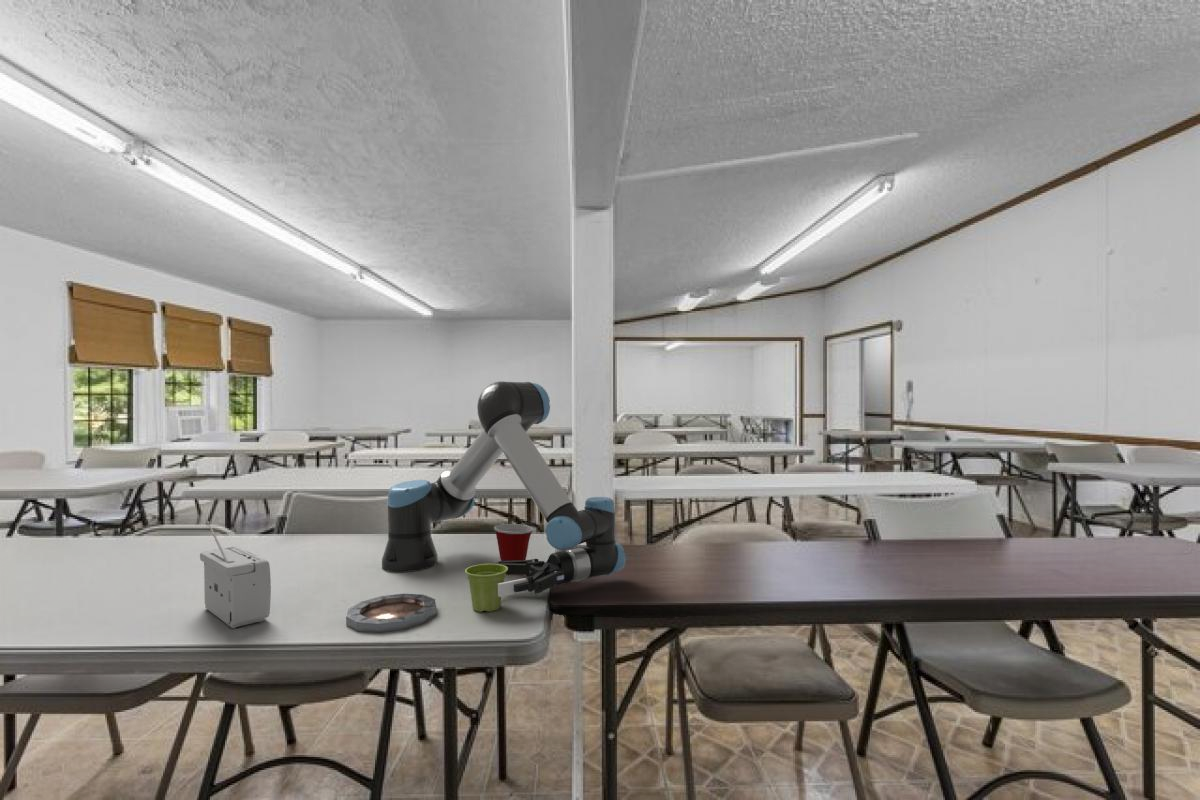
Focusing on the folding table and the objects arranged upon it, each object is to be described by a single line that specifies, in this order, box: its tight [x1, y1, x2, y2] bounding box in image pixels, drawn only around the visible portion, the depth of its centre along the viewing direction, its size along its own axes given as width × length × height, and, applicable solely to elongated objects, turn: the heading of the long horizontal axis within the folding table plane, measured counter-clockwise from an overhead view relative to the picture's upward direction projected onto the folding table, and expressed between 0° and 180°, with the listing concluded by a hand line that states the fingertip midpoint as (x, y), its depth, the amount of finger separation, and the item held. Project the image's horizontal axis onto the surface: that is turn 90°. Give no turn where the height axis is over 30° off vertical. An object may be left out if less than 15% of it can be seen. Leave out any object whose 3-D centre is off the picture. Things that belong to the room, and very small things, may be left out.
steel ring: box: [345, 593, 437, 634], centre depth 127 cm, size 18×18×2 cm
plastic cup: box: [493, 523, 534, 561], centre depth 160 cm, size 11×11×12 cm
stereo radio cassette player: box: [199, 521, 272, 629], centre depth 129 cm, size 21×8×20 cm, turn 48°
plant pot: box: [464, 563, 508, 613], centre depth 131 cm, size 9×9×9 cm
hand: (485, 582), depth 131 cm, fingers open, 13 cm apart
